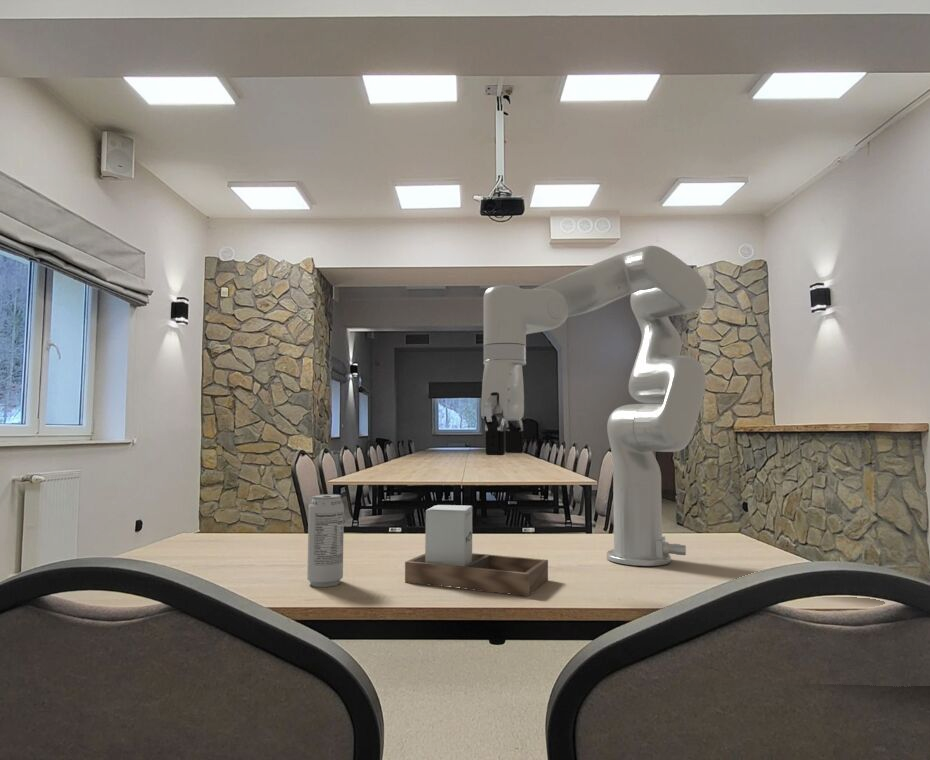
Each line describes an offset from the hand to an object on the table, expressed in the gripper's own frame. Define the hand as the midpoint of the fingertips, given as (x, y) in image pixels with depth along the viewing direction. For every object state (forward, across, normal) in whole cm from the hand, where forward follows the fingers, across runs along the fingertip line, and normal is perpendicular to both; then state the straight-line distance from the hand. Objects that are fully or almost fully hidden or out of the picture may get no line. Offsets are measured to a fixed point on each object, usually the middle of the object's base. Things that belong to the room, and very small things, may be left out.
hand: (505, 453), depth 109 cm
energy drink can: (+22, +12, -29) cm, 38 cm away
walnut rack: (+22, 0, -5) cm, 23 cm away
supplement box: (+23, 0, -11) cm, 25 cm away
